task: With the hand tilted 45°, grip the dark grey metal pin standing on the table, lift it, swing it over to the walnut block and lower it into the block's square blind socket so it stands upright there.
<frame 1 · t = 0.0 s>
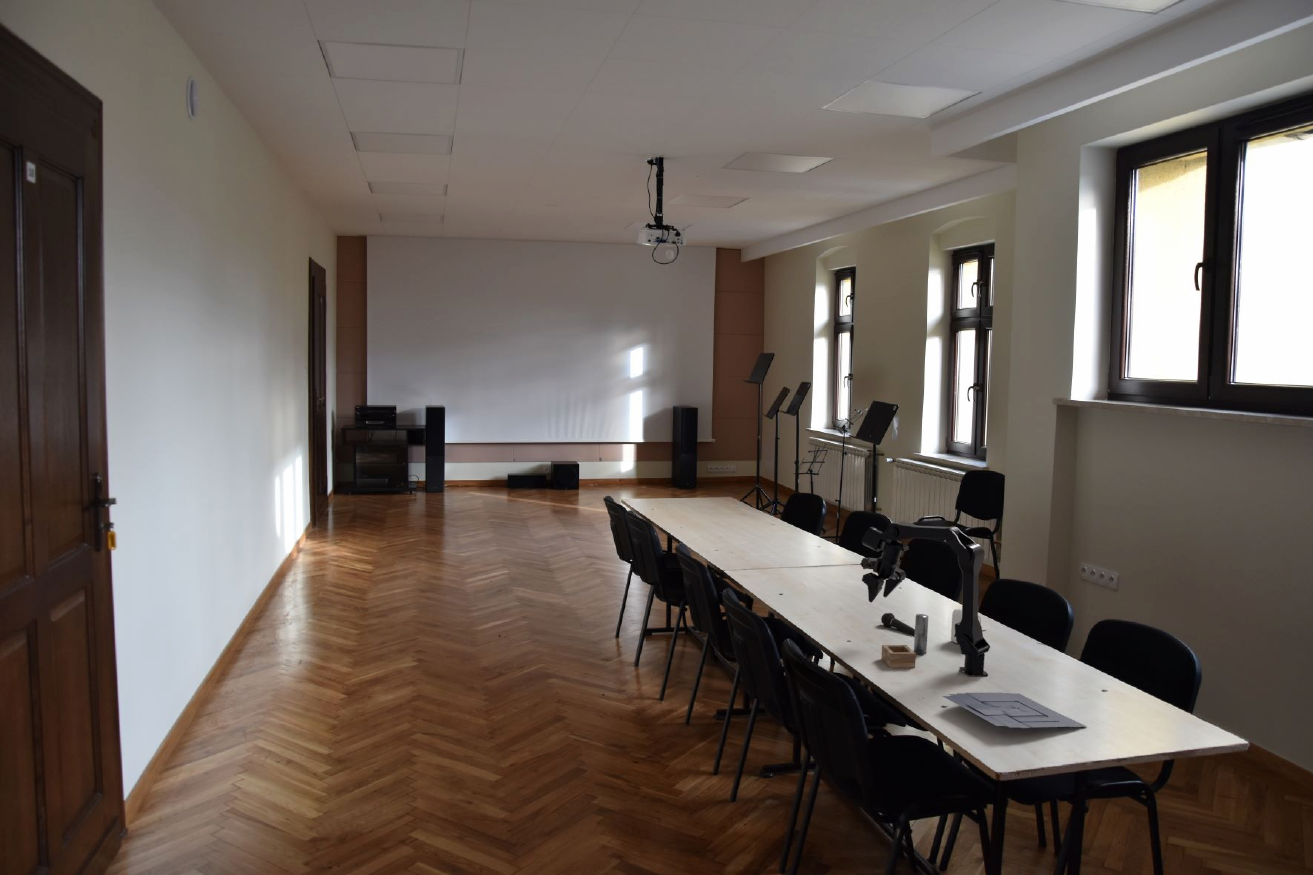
hand: (877, 599, 292), 15 cm above the table, fingers open, 9 cm apart
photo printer: (964, 645, 296), on the table
microphone: (901, 632, 308), on the table
socket block: (898, 662, 276), on the table
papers: (1010, 718, 236), on the table
pin: (919, 652, 286), on the table
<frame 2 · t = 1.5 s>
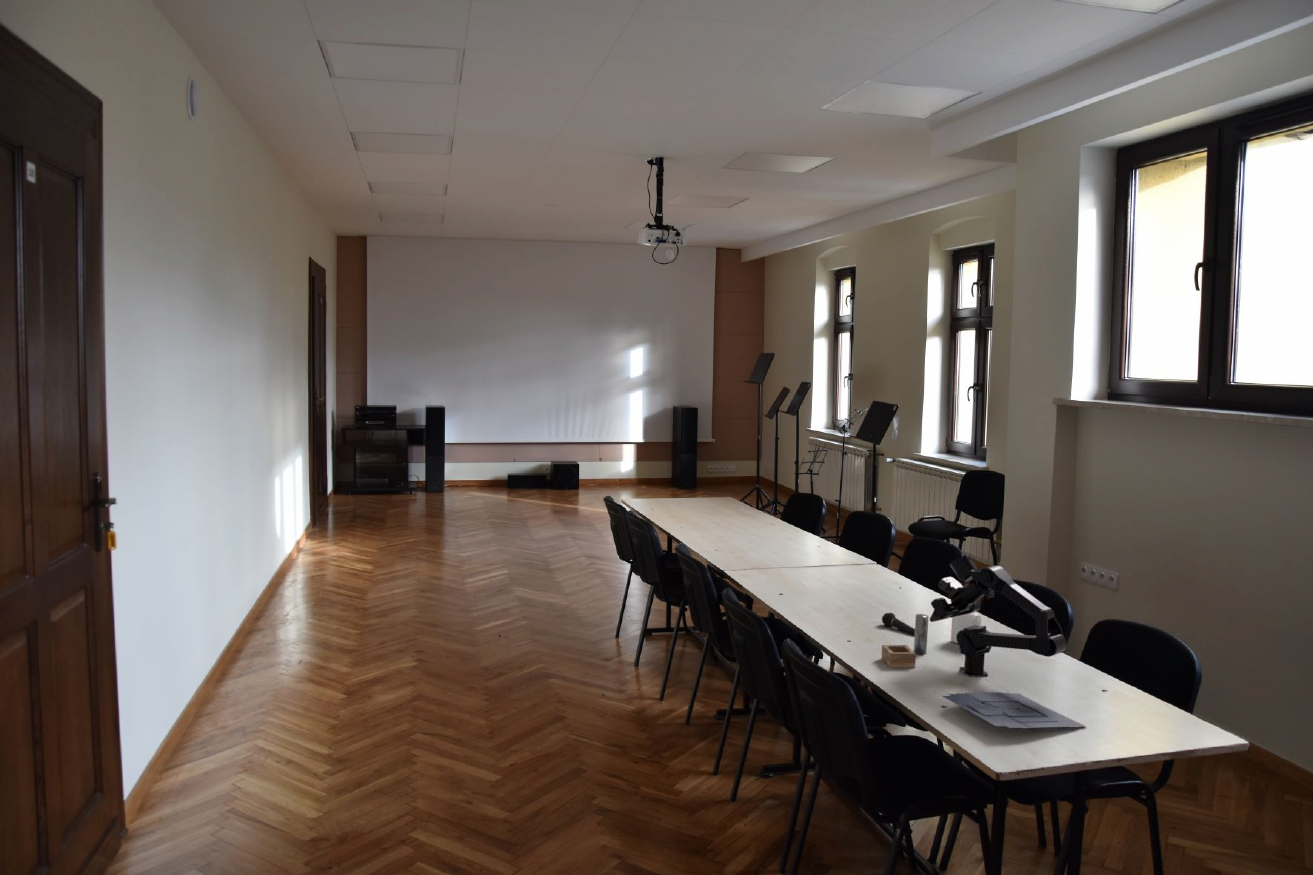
hand: (939, 618, 279), 13 cm above the table, fingers open, 9 cm apart
nothing on the table moved.
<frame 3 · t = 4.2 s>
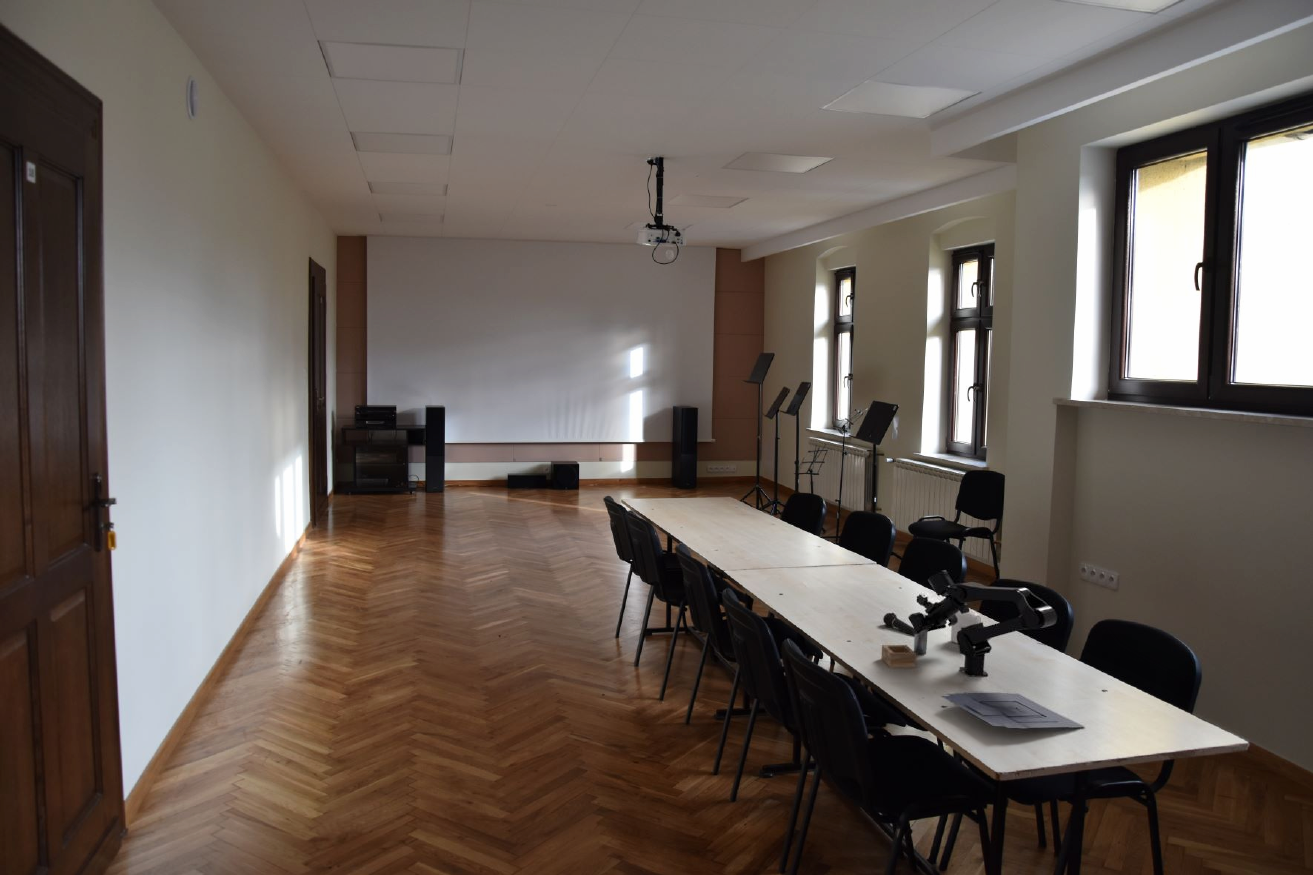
hand: (917, 631, 287), 7 cm above the table, fingers closed on pin, 4 cm apart
pin: (919, 652, 286), on the table, touching gripper
everything else where it was.
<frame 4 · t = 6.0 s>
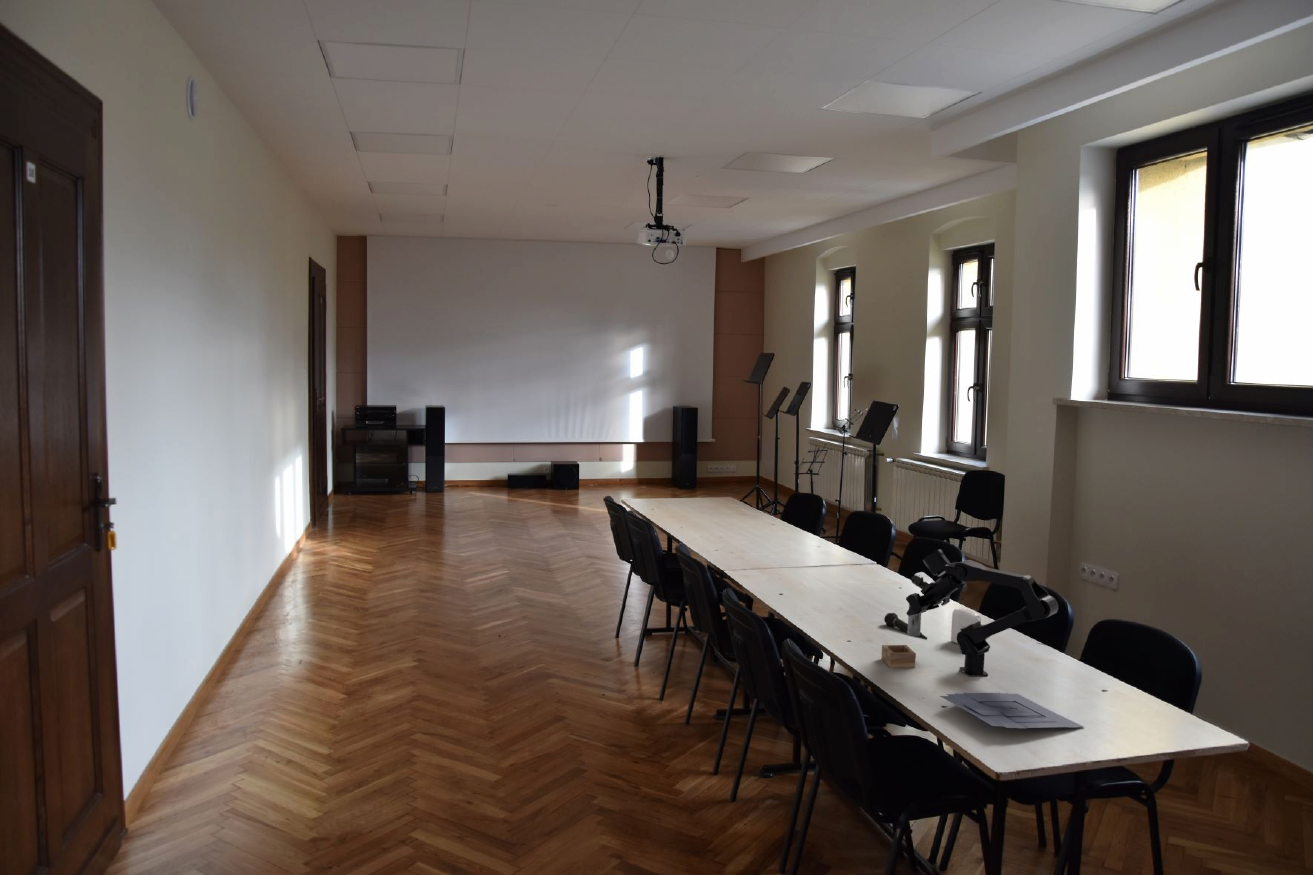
hand: (911, 613, 284), 13 cm above the table, fingers closed on pin, 4 cm apart
pin: (913, 633, 284), point 7 cm above the table, touching gripper
everything else where it was.
when the fingers open (9 cm above the table, at t = 8.1 s): pin drops 1 cm, resting on socket block.
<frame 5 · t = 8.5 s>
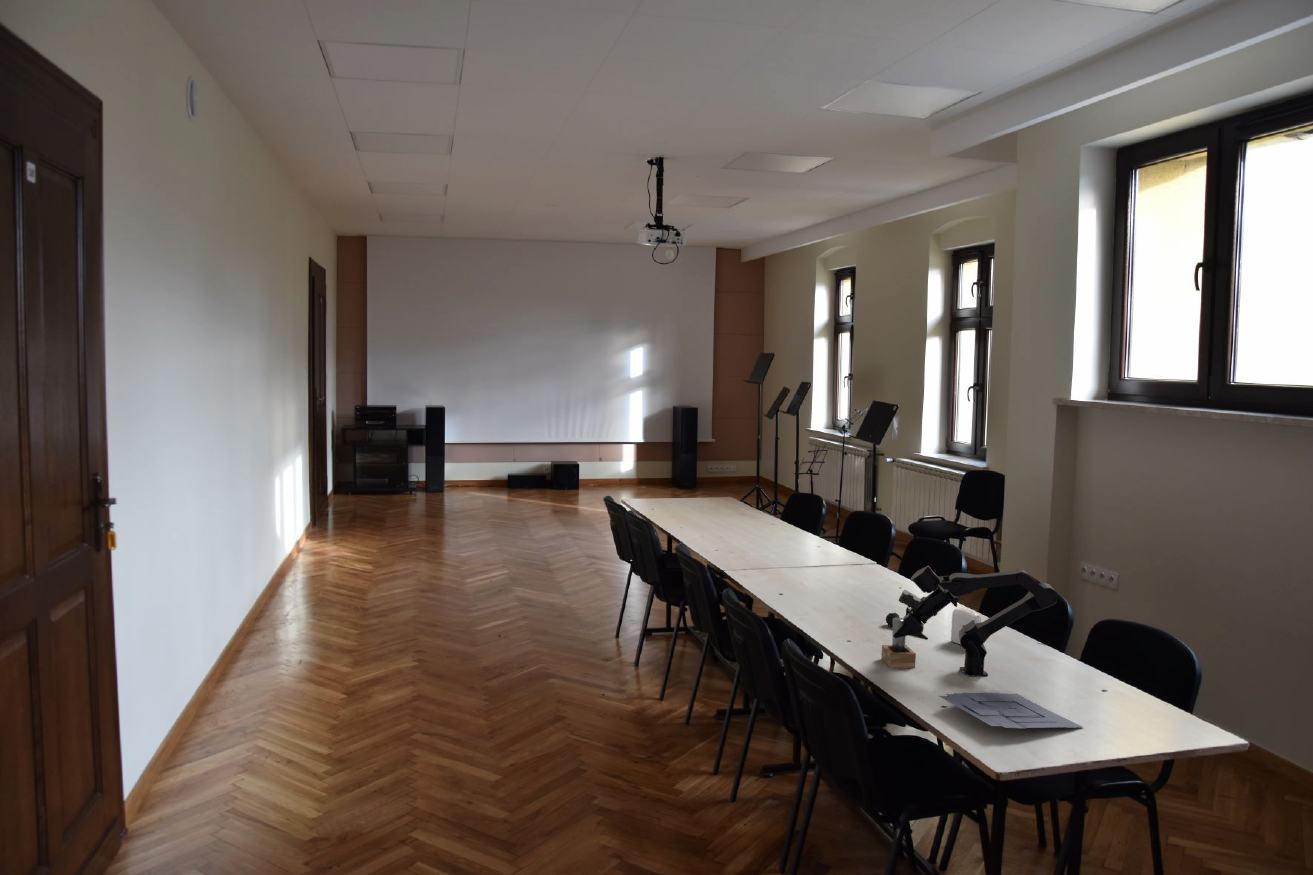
hand: (895, 633, 275), 10 cm above the table, fingers open, 8 cm apart
pin: (898, 657, 276), point 2 cm above the table, touching socket block
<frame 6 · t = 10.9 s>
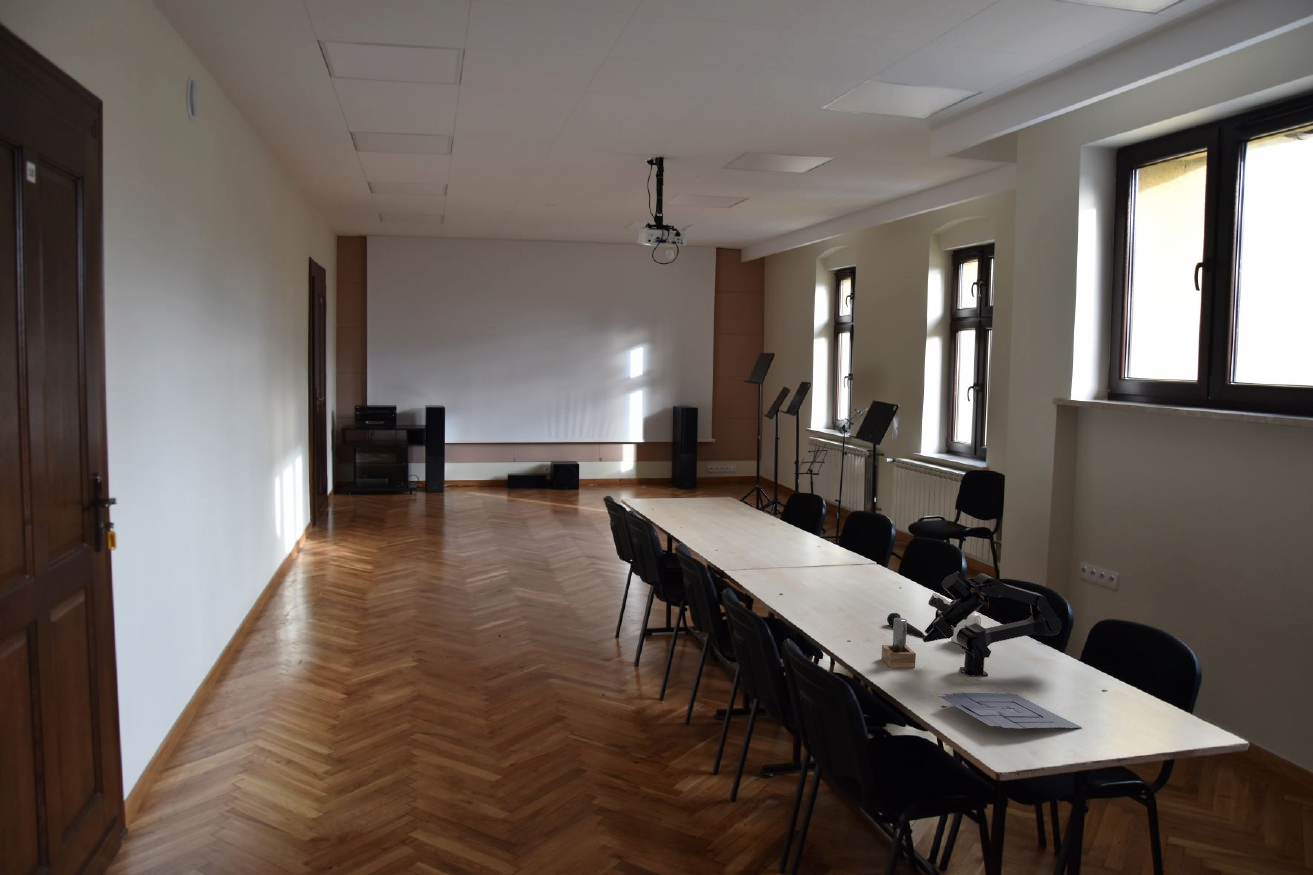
hand: (924, 636, 273), 10 cm above the table, fingers open, 9 cm apart
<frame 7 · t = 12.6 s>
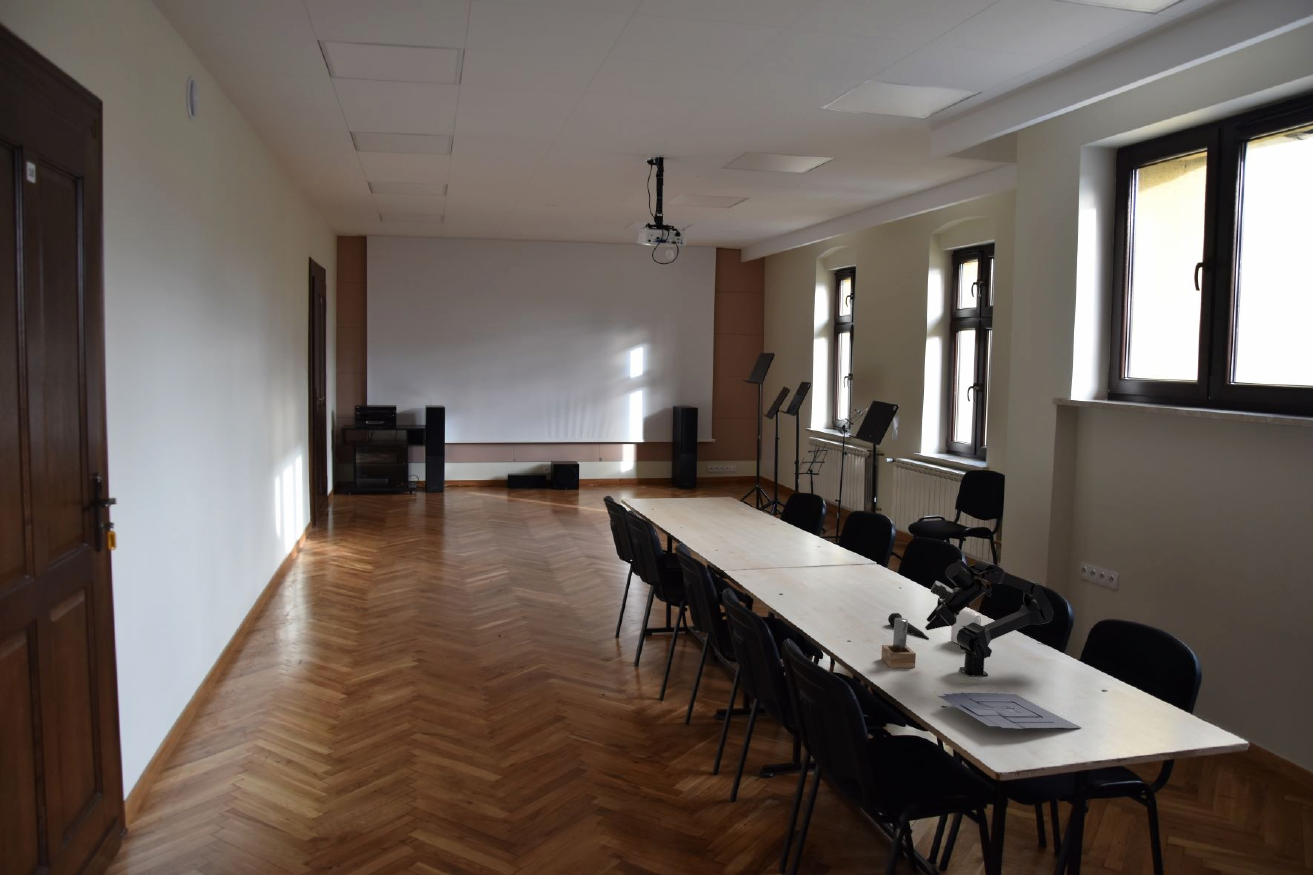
hand: (926, 624, 272), 14 cm above the table, fingers open, 9 cm apart
at the end: pin 0.1 cm off-centre on the socket block, point 1.6 cm above the socket block's base; pin tilted 1°; the gripper is holding nothing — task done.
